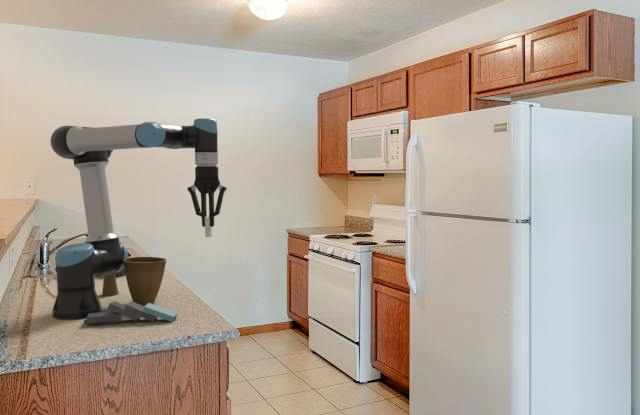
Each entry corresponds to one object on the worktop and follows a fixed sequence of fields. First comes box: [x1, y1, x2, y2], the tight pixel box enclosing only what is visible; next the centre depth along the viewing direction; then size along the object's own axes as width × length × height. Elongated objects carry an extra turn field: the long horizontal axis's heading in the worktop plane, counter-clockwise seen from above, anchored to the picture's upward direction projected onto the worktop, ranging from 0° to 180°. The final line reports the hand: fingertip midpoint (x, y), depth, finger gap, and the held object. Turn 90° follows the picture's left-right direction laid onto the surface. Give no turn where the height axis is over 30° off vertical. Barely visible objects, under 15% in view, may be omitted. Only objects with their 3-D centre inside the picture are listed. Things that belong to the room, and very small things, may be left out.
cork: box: [101, 273, 119, 297], centre depth 207 cm, size 6×6×11 cm
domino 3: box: [107, 300, 142, 322], centre depth 170 cm, size 2×5×10 cm
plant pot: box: [124, 256, 167, 305], centre depth 193 cm, size 15×15×16 cm
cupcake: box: [115, 268, 126, 278], centre depth 244 cm, size 10×10×10 cm
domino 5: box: [142, 303, 179, 323], centre depth 171 cm, size 2×5×10 cm
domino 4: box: [124, 300, 159, 323], centre depth 171 cm, size 2×5×10 cm
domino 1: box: [86, 311, 123, 323], centre depth 168 cm, size 2×5×10 cm
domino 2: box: [83, 318, 119, 325], centre depth 170 cm, size 2×5×10 cm
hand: (208, 236), depth 176 cm, fingers closed
